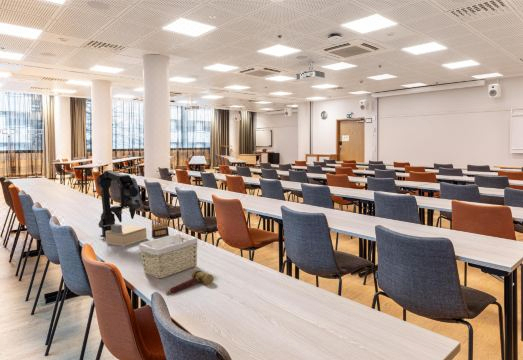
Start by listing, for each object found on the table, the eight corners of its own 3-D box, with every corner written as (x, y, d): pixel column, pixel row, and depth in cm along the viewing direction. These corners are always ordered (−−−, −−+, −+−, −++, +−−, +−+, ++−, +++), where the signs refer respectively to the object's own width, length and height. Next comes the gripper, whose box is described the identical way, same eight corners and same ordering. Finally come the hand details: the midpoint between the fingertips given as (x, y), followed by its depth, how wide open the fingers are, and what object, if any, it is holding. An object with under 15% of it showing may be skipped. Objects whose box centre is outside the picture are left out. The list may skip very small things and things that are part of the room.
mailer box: (106, 242, 233) (105, 233, 232) (129, 235, 248) (128, 226, 248) (123, 245, 225) (123, 236, 224) (146, 238, 240) (146, 229, 240)
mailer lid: (105, 232, 232) (104, 224, 231) (128, 226, 248) (128, 218, 247) (123, 235, 224) (122, 226, 224) (146, 228, 240) (145, 220, 239)
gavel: (172, 291, 149) (158, 285, 156) (174, 302, 150) (160, 295, 157) (213, 273, 164) (198, 268, 171) (214, 282, 165) (199, 277, 172)
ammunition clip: (152, 237, 242) (151, 219, 240) (151, 237, 243) (150, 219, 242) (168, 235, 247) (167, 217, 246) (167, 234, 249) (166, 216, 248)
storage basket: (158, 281, 168) (156, 249, 167) (139, 273, 179) (137, 242, 177) (200, 266, 186) (199, 237, 184) (180, 259, 197) (179, 232, 195)
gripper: (122, 199, 218) (123, 225, 220) (146, 194, 234) (147, 218, 236) (109, 197, 223) (110, 223, 225) (133, 193, 240) (134, 217, 242)
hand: (126, 220), depth 232 cm, fingers open, 9 cm apart
